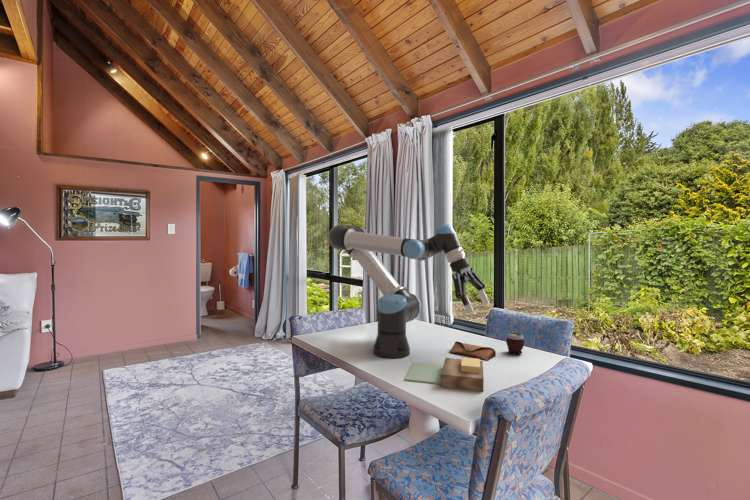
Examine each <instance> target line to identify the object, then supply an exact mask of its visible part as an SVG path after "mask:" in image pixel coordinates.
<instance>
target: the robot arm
mask: <svg viewBox="0 0 750 500" xmlns="http://www.w3.org/2000/svg"><path fill="white" fill-rule="evenodd" d="M455 231H456V230H454V227H453V225H452V224H449V223H447V224H444V225H441V226H439V227H437V228H436V229H435V230H434V232H435V234H434V236H432V237H430V238H427V239H414V238H406V237H399V236H392V235H386V234H385V235H384V234H377V233H371V232H367V231H366V230H365V229H364V228H363V227H361V226H358V225H353V224H352V225H348V224H338V225H335V226H333V227H332V228H331V229H330V231H329V232H328V236H327V238H328V242H329V244H330V246H331V247H332V248H333V249H336V250H339V251H345V252H346V253H347V255H348V256H349V257H350V258H352V259H355V260H356V261H357V262H358V264H359V265H360V266H361V268H362V269H363V270H364V272H365V273H366V275H368V278H370V280H371V281H372V282H373V283H374V284H375V286H376V287H377V289H378V290H379V291H380V293H381V294H382V296H381V297H379V299H378V302H377V335H376V338H375V341H374V345H373V348H372V351H373V352H372V353H373V354H374V355H375V356H377V357H380V358H386V359H400V358H404V357H407V356H410V354H411V347H410V344H409V341H408V337H407V333H406V332H407V323H409V322H411V321H413V320H415V319H416V318H418V316H419V315H420V314H421V311H422V303H421V300H420V298H419V297H418V296H417V295H416V294H414V293H410V291H409V290H408V289H407V287H406V286H403V285H400V284H399V283H398V281H397V280H396V279H395V278H394V276H393V275H392V274H391V272H390V271H389V270H388V269H387V267H386V266H385V265H384V264H383V262H382V261H381V259H380V258H379V256H377V255H376V253H378V254H385V255H391V256H392V255H393V256H399V257H404V258H408V259H411V260H417V261H419V262H423V261H425V260H428V259H430V258H432V257H433V256H436V255H438V254H440V253H442V252H443V253H444V254H445V255H444V256H445V258H446V261H447V262H448V263H449V266H450V269H451V271H452V272H453V274H451V276H452V280H453V286H454V292H455V293H454V294H455V297H456V298H457V299H458V300H460V301H461V302H462V305H463V306H464V308H465V311H466V313H467V314H471V313H474V312H475V310H474V308H473V306H472V303H471V301H470V299H469V297H468V295H466V294H467V292H466V291H467V290H466V289H467V288H466V287H467V286H466V285H467V282H469V283H470V284H471V285H472V286H473V287H474V288H475V289H476V290H477V294H478V296H479V298H480V301H481V302H482V305H483V306H487V305H490V303H491V302H490V300H489V298H488V296H487V294H486V292H485V289H486V284H485V283H484V282H483V280H482V279H481V277H479V275H478V274H477V272H476V271H475V269H474V267H470V268H469V266H470V262H469V260H468V258H467V257H466V253H465V251H464V248H463V247H462V245H461V244H462V243H460V240H459V238H458V236H457V232H455Z"/></svg>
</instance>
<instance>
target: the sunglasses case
mask: <svg viewBox="0 0 750 500" xmlns="http://www.w3.org/2000/svg"><path fill="white" fill-rule="evenodd" d="M448 354H453V355H457V356H463V357H466V358H476V359H480V361H487V362H489V361H490V360H492V359H494V358H496V356H497V353H496V350H495V349H494V348H493V347H488V346H480V345H475V344H471V343H464V342H460V341H454V344H453V346H452V347H451V348H450V351H449V352H448Z"/></svg>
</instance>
